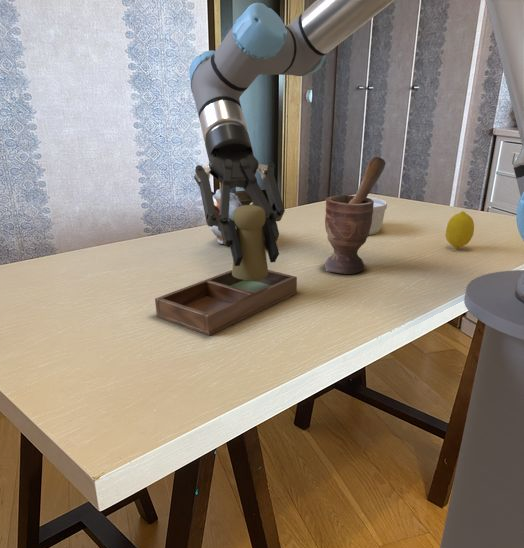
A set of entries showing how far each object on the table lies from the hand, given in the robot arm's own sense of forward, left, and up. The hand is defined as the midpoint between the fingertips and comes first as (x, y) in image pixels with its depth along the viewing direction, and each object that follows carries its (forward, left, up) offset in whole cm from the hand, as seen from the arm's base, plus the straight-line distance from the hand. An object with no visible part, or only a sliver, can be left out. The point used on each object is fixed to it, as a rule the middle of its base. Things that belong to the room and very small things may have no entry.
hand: (256, 259), depth 83 cm
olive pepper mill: (+3, -2, -4) cm, 5 cm away
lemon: (-14, -51, -7) cm, 53 cm away
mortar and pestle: (-2, -26, -7) cm, 27 cm away
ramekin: (+11, -52, -7) cm, 54 cm away
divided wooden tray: (+3, +3, -7) cm, 8 cm away
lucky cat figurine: (+25, -25, -7) cm, 36 cm away
